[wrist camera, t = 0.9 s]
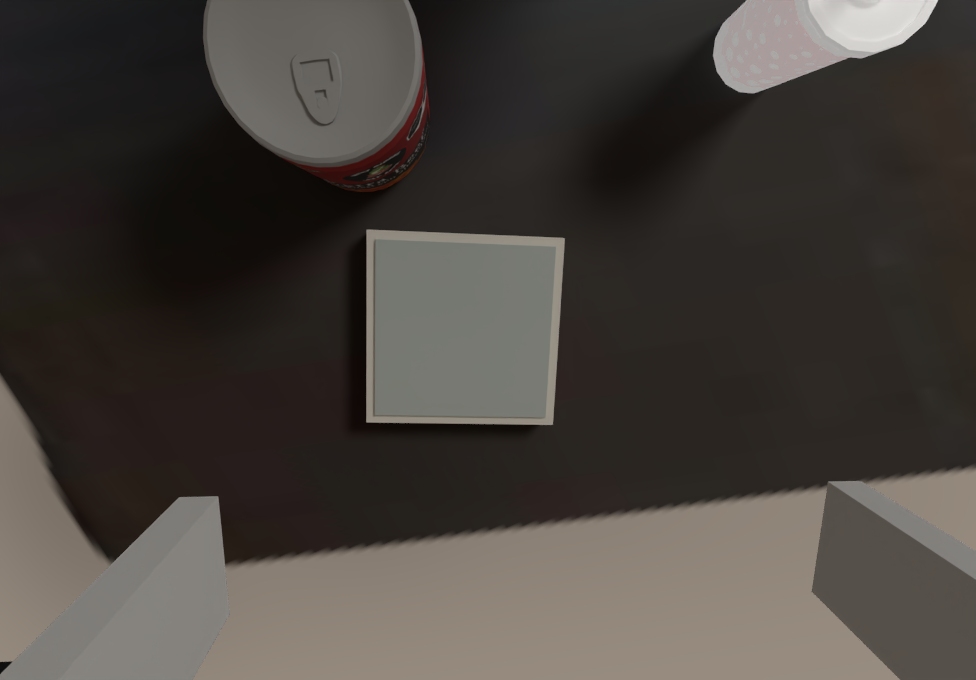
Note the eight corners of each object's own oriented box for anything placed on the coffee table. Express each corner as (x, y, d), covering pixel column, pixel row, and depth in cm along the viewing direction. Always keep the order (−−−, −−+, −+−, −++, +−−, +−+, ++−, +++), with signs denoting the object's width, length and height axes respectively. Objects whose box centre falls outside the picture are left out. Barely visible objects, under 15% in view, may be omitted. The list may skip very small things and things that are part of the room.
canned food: (331, 215, 30) (268, 198, 19) (263, 76, 29) (154, -25, 18) (454, 160, 30) (459, 113, 19) (393, 18, 29) (361, -118, 18)
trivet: (370, 230, 31) (366, 229, 29) (559, 238, 31) (565, 238, 30) (370, 414, 32) (366, 423, 31) (548, 417, 33) (553, 425, 32)
